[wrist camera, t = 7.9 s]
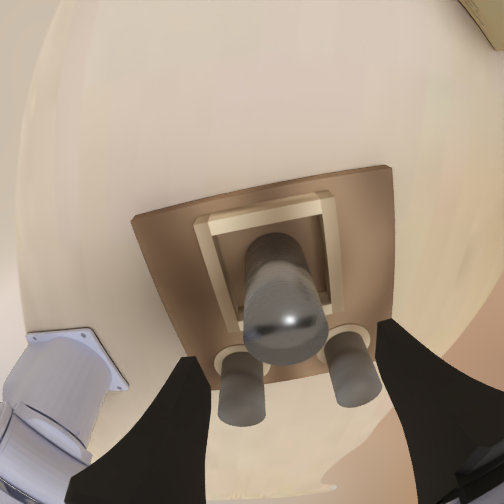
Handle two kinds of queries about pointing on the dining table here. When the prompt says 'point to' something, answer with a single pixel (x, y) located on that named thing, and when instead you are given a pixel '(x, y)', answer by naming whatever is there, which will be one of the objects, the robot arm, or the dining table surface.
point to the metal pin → (281, 303)
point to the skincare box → (488, 19)
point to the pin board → (320, 265)
